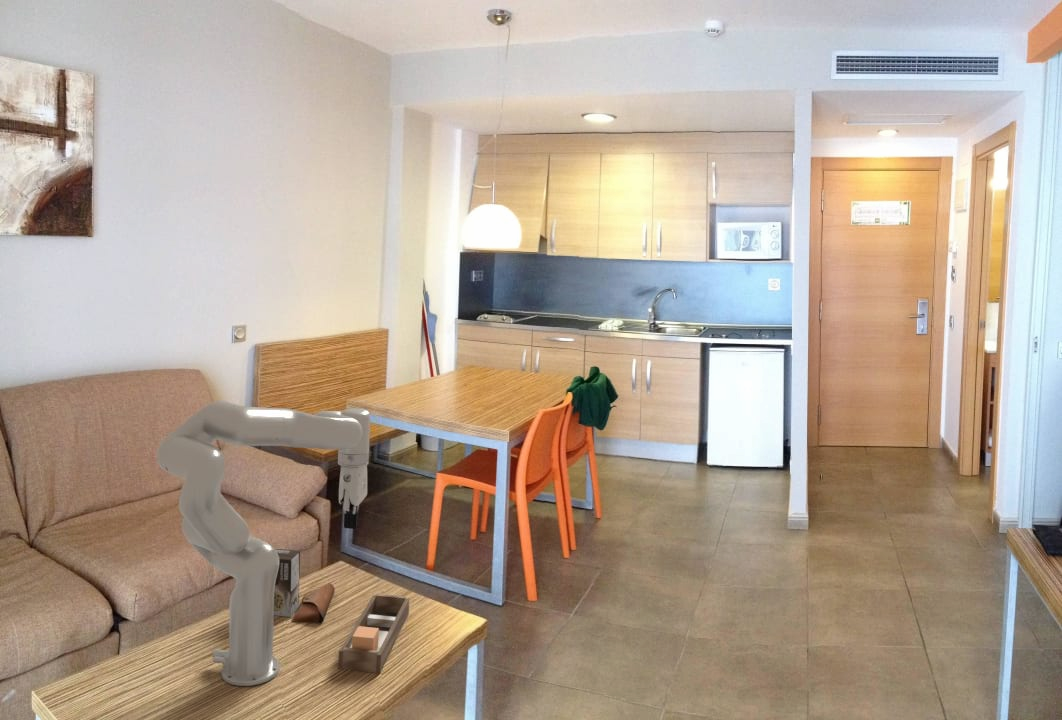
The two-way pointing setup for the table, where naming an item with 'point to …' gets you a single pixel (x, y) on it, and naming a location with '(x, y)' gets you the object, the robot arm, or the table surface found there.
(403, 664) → the table surface
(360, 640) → the block
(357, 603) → the table surface
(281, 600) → the coffee box
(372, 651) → the trap box
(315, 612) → the sunglasses case
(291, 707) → the table surface
